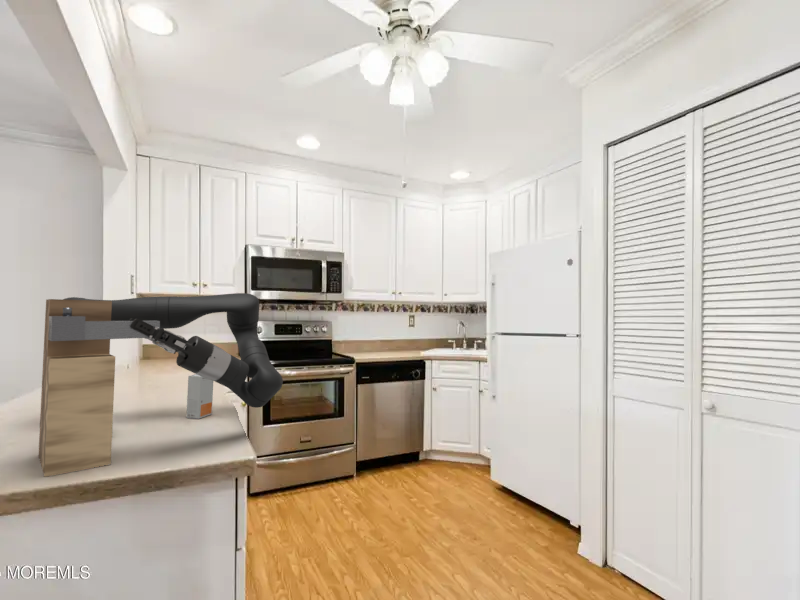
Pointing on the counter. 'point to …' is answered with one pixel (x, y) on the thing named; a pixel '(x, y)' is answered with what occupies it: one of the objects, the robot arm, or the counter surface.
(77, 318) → the dark grey bar piece
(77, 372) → the upright wood plank
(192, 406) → the skincare box
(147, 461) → the counter surface
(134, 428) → the counter surface
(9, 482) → the counter surface
